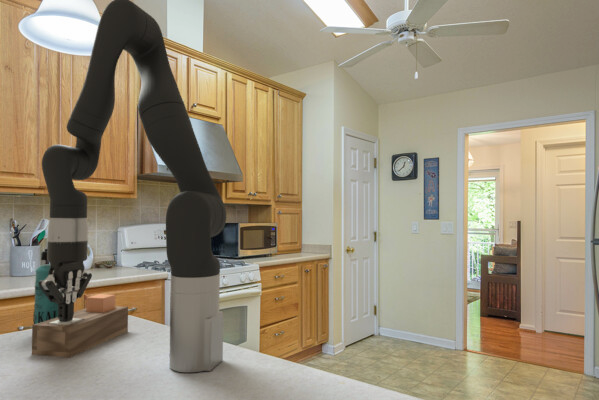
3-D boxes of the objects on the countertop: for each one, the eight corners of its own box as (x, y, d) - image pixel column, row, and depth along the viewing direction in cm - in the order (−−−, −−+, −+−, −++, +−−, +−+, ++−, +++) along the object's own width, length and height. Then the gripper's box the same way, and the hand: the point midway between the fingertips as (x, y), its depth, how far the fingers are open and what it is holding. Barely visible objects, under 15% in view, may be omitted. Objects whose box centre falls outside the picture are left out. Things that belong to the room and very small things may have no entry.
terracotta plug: (115, 315, 99) (115, 294, 99) (102, 320, 95) (103, 298, 95) (99, 314, 100) (99, 294, 100) (86, 318, 96) (86, 297, 96)
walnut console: (127, 331, 100) (128, 306, 101) (69, 357, 82) (70, 327, 82) (95, 329, 102) (96, 305, 102) (31, 354, 84) (32, 325, 84)
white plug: (82, 342, 88) (82, 318, 89) (66, 348, 84) (67, 324, 84) (64, 340, 89) (65, 317, 89) (48, 347, 85) (49, 322, 85)
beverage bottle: (46, 329, 102) (48, 249, 102) (71, 330, 101) (73, 249, 101) (25, 337, 95) (28, 251, 96) (51, 338, 94) (53, 252, 95)
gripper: (59, 241, 80) (56, 330, 80) (104, 237, 93) (102, 314, 93) (26, 240, 82) (24, 328, 81) (75, 237, 95) (73, 312, 94)
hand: (65, 320), depth 87 cm, fingers closed
